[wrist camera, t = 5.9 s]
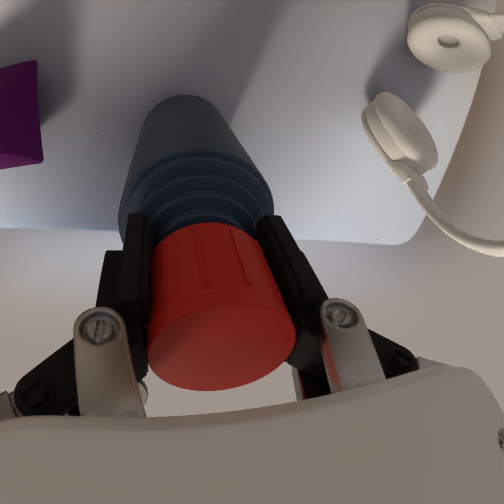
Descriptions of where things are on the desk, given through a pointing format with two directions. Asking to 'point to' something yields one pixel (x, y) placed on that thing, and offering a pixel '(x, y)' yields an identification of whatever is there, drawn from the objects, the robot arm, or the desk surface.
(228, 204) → the water bottle
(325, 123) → the desk surface
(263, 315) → the cap
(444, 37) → the headphones
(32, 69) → the perfume bottle
